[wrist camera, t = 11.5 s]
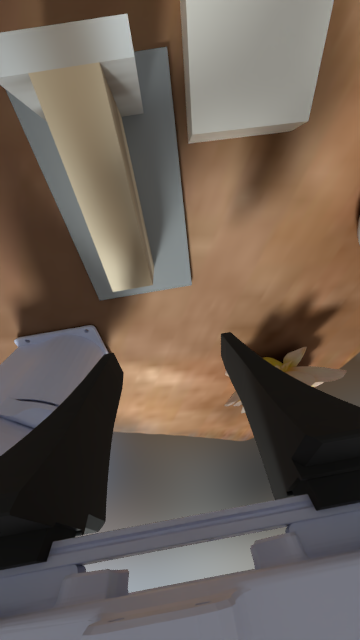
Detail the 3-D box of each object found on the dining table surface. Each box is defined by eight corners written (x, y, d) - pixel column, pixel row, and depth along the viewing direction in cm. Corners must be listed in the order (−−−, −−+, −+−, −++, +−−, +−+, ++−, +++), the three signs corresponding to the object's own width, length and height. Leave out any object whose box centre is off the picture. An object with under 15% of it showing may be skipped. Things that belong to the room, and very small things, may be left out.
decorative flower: (220, 410, 31) (246, 475, 21) (207, 359, 27) (232, 410, 18) (297, 386, 31) (357, 439, 22) (295, 332, 27) (367, 368, 18)
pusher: (109, 274, 17) (93, 295, 13) (45, 104, 11) (-28, 36, 6) (169, 264, 17) (172, 281, 13) (139, 89, 11) (127, 13, 7)
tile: (192, 134, 11) (181, -96, 7) (187, 145, 13) (176, -36, 9) (308, 121, 12) (356, -108, 8) (288, 133, 13) (319, -48, 9)
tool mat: (101, 298, 19) (99, 300, 18) (5, 79, 10) (-3, 72, 10) (190, 283, 19) (191, 284, 18) (166, 54, 10) (166, 46, 10)
